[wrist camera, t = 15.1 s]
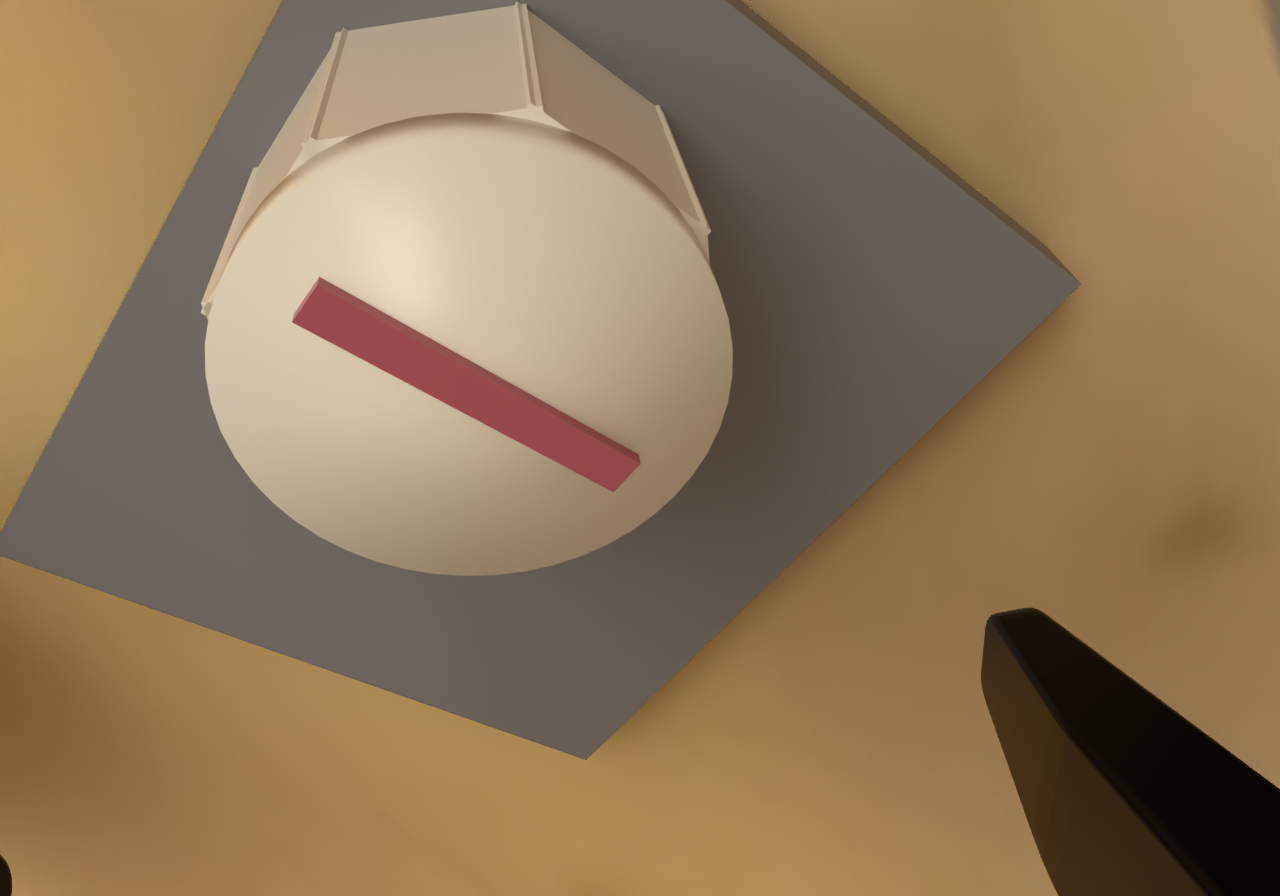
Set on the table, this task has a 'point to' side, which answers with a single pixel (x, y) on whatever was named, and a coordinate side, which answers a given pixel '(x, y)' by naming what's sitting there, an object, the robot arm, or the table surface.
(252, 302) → the knob
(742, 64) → the board
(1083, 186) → the table surface
